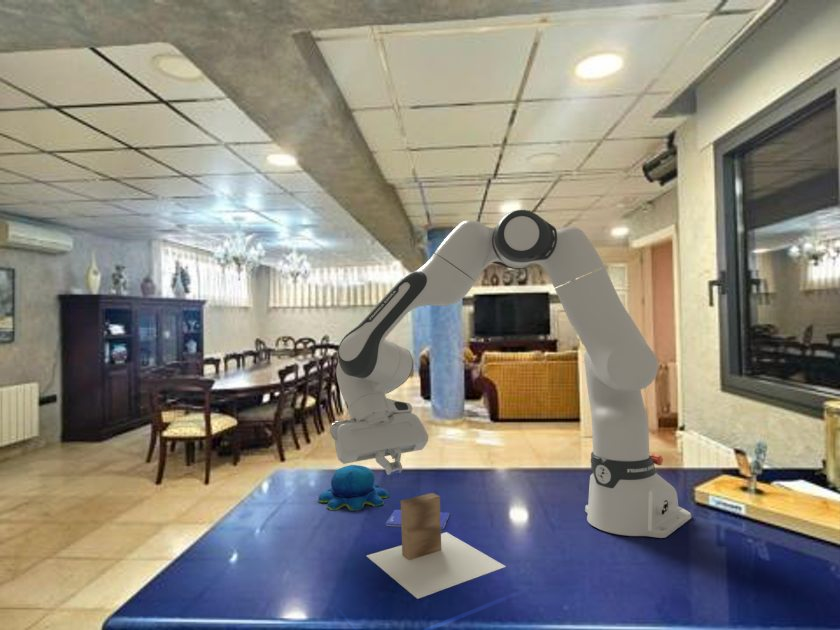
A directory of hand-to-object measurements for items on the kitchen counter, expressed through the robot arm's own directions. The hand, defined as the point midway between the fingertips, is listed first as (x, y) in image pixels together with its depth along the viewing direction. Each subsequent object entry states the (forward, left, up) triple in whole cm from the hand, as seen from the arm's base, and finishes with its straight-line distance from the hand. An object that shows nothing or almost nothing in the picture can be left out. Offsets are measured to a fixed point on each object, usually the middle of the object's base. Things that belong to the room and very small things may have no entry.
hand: (395, 472), depth 103 cm
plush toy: (-3, -27, -14) cm, 30 cm away
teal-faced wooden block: (0, +10, -13) cm, 16 cm away
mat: (0, +14, -13) cm, 19 cm away
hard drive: (-8, -5, -14) cm, 17 cm away
